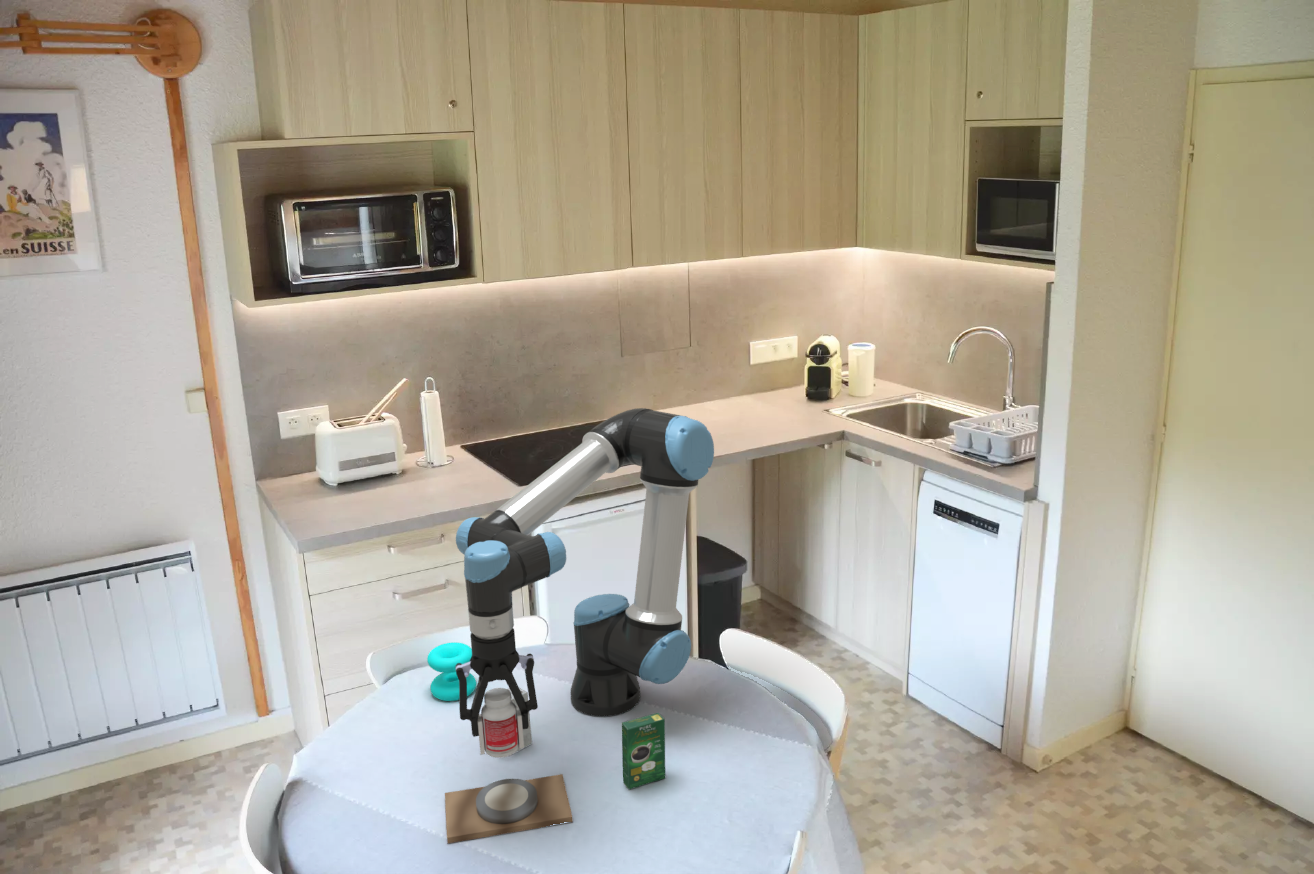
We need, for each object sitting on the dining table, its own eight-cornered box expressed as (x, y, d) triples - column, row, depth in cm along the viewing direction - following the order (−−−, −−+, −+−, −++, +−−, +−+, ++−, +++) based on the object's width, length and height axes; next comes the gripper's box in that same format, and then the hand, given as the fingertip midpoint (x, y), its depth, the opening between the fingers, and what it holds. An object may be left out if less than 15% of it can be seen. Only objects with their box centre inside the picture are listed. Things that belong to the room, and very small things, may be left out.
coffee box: (660, 770, 198) (658, 710, 195) (667, 778, 196) (665, 717, 192) (622, 782, 195) (619, 721, 191) (628, 791, 193) (625, 729, 189)
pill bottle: (525, 751, 184) (521, 696, 180) (493, 763, 180) (488, 707, 177) (509, 735, 188) (505, 681, 185) (478, 746, 185) (474, 692, 182)
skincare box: (519, 736, 211) (515, 684, 208) (532, 744, 208) (528, 691, 205) (495, 748, 207) (490, 696, 204) (508, 757, 204) (503, 703, 201)
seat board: (562, 779, 197) (561, 766, 196) (572, 822, 184) (571, 808, 184) (445, 798, 192) (443, 785, 191) (447, 843, 180) (445, 829, 179)
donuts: (432, 640, 231) (476, 639, 231) (436, 680, 234) (480, 679, 233) (422, 662, 221) (468, 661, 221) (426, 704, 224) (472, 703, 224)
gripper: (435, 647, 172) (447, 767, 179) (550, 632, 176) (558, 750, 183) (435, 627, 179) (446, 743, 186) (545, 613, 183) (552, 727, 190)
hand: (501, 746), depth 184 cm, fingers closed on pill bottle, 6 cm apart
